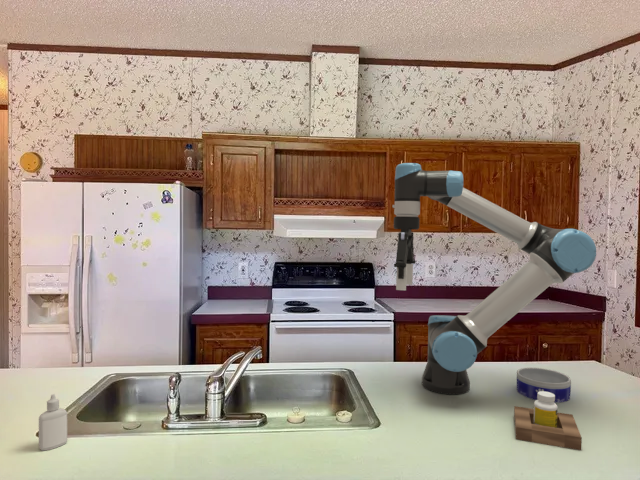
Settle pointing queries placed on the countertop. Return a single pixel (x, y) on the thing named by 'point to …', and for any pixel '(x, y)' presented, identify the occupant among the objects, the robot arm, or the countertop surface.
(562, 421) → the walnut socket block
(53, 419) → the eye dropper bottle
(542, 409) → the supplement bottle
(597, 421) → the countertop surface
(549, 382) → the dog bowl
